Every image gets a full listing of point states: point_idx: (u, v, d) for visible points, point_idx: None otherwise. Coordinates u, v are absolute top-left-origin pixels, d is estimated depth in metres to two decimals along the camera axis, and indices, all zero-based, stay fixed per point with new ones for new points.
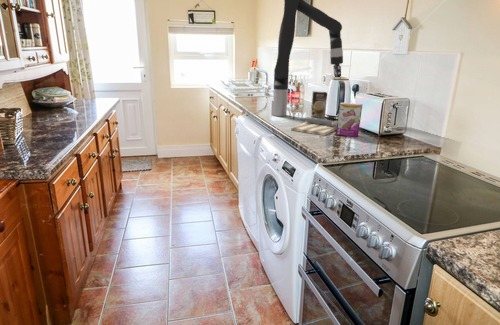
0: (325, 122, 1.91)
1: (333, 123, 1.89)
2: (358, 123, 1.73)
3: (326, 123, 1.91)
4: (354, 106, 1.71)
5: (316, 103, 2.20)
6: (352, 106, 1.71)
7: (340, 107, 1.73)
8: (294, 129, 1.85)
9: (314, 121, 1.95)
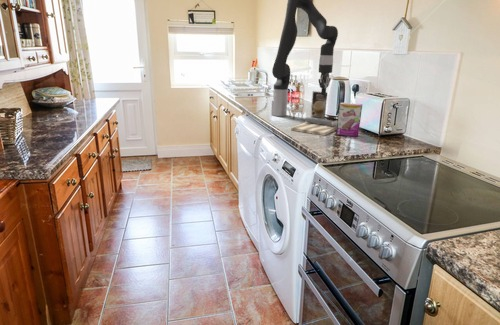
0: (325, 122, 1.91)
1: (333, 123, 1.89)
2: (358, 123, 1.73)
3: (326, 123, 1.91)
4: (354, 106, 1.71)
5: (316, 103, 2.20)
6: (352, 106, 1.71)
7: (340, 107, 1.73)
8: (294, 129, 1.85)
9: (314, 121, 1.95)
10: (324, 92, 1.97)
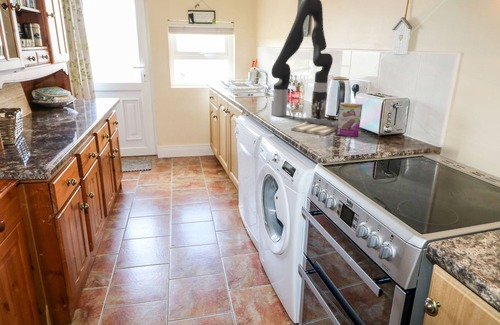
0: (325, 122, 1.91)
1: (333, 123, 1.89)
2: (358, 123, 1.73)
3: (326, 123, 1.91)
4: (354, 106, 1.71)
5: None
6: (352, 106, 1.71)
7: (340, 107, 1.73)
8: (294, 129, 1.85)
9: (314, 121, 1.95)
10: (319, 118, 1.97)
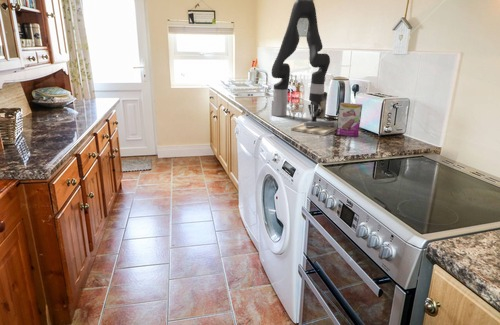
0: (327, 123, 1.88)
1: (335, 123, 1.89)
2: (358, 123, 1.73)
3: (328, 124, 1.88)
4: (354, 106, 1.71)
5: None
6: (352, 106, 1.71)
7: (340, 107, 1.73)
8: (294, 129, 1.85)
9: (316, 124, 1.87)
10: None
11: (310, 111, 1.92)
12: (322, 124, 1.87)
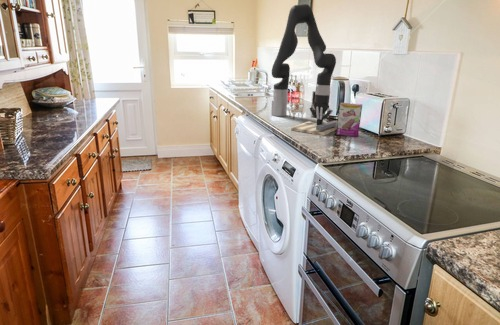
0: (333, 124, 1.86)
1: None
2: (358, 123, 1.73)
3: (333, 125, 1.87)
4: (354, 106, 1.71)
5: None
6: (352, 106, 1.71)
7: (340, 107, 1.73)
8: (294, 129, 1.85)
9: (327, 127, 1.81)
10: None
11: (314, 114, 1.83)
12: (330, 126, 1.84)
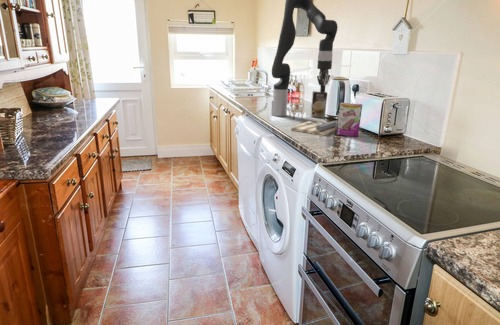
0: (333, 124, 1.86)
1: None
2: (358, 123, 1.73)
3: (333, 125, 1.87)
4: (354, 106, 1.71)
5: (316, 103, 2.20)
6: (352, 106, 1.71)
7: (340, 107, 1.73)
8: (294, 129, 1.85)
9: (327, 127, 1.81)
10: (323, 90, 1.88)
11: None
12: (330, 126, 1.84)
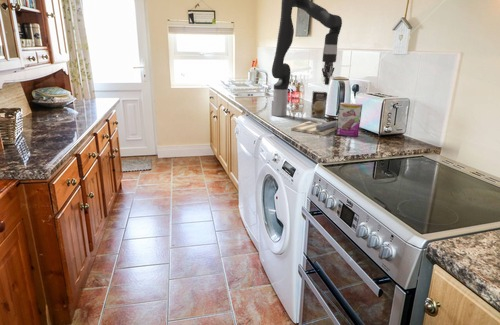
0: (333, 124, 1.86)
1: None
2: (358, 123, 1.73)
3: (333, 125, 1.87)
4: (354, 106, 1.71)
5: (316, 103, 2.20)
6: (352, 106, 1.71)
7: (340, 107, 1.73)
8: (294, 129, 1.85)
9: (327, 127, 1.81)
10: (327, 82, 1.97)
11: None
12: (330, 126, 1.84)
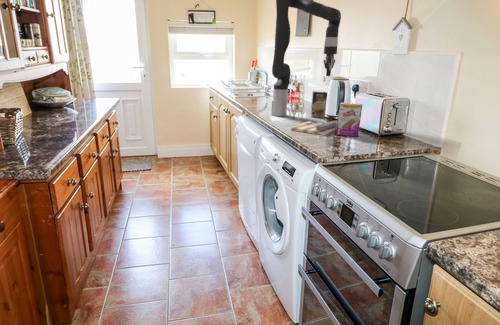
0: (333, 124, 1.86)
1: None
2: (358, 123, 1.73)
3: (333, 125, 1.87)
4: (354, 106, 1.71)
5: (316, 103, 2.20)
6: (352, 106, 1.71)
7: (340, 107, 1.73)
8: (294, 129, 1.85)
9: (327, 127, 1.81)
10: (329, 73, 2.05)
11: None
12: (330, 126, 1.84)
